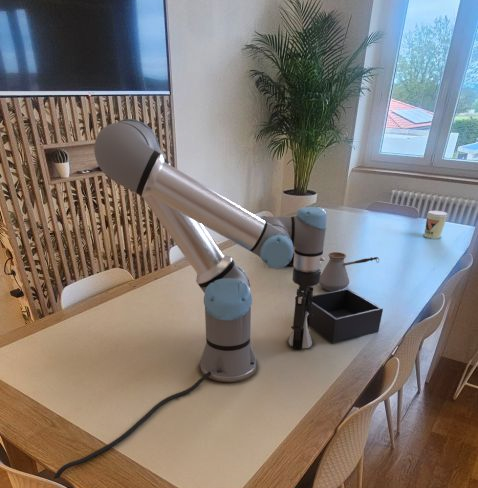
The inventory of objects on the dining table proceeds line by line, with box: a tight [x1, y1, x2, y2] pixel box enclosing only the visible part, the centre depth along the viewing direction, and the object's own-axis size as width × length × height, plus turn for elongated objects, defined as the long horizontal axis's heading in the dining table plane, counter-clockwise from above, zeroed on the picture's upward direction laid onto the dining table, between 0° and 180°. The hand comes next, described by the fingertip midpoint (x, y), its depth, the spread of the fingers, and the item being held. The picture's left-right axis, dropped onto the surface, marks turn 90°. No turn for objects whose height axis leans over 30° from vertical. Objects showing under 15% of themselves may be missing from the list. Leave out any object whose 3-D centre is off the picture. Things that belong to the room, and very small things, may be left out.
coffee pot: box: [318, 251, 380, 292], centre depth 160 cm, size 21×12×15 cm, turn 54°
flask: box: [288, 312, 313, 349], centre depth 128 cm, size 7×7×10 cm
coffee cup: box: [423, 210, 448, 240], centre depth 222 cm, size 9×9×12 cm
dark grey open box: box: [308, 287, 384, 344], centre depth 138 cm, size 18×18×8 cm
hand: (300, 341), depth 130 cm, fingers closed on flask, 7 cm apart
